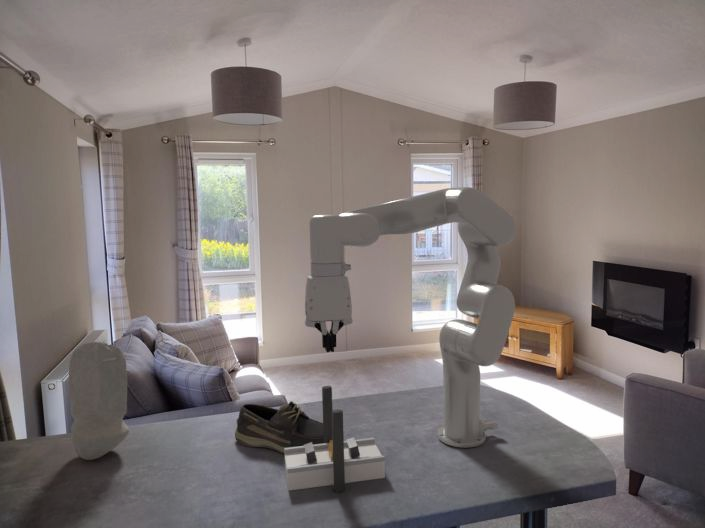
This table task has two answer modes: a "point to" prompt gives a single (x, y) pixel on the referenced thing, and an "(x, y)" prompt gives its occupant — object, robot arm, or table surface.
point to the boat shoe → (276, 427)
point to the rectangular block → (331, 448)
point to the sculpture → (97, 398)
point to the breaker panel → (322, 469)
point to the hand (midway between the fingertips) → (329, 350)
